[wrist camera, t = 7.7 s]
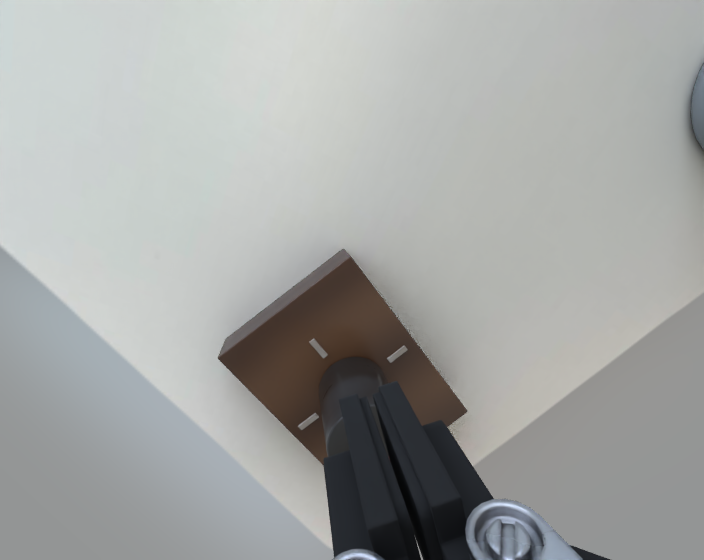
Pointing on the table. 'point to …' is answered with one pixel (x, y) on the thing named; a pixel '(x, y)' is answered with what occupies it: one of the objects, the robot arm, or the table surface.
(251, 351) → the knob panel
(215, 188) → the table surface
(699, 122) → the water bottle
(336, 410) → the knob
